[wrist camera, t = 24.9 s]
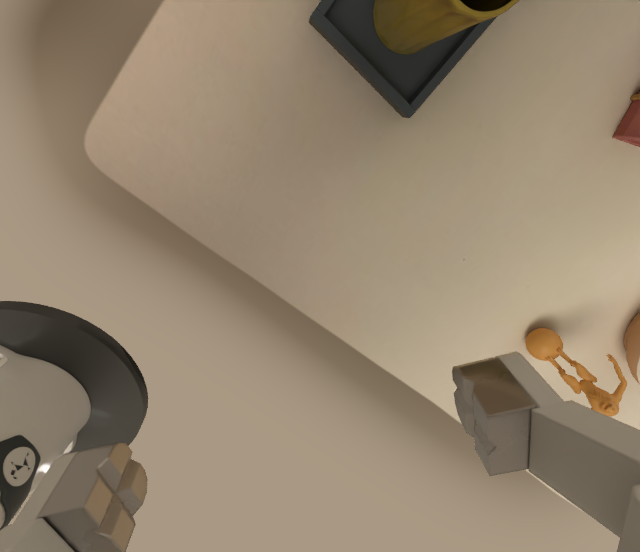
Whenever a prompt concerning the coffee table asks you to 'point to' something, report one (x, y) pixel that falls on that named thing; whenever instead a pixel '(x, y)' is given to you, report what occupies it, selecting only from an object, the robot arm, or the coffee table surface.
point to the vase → (429, 20)
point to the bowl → (633, 347)
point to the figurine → (550, 347)
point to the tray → (390, 53)
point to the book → (630, 123)
